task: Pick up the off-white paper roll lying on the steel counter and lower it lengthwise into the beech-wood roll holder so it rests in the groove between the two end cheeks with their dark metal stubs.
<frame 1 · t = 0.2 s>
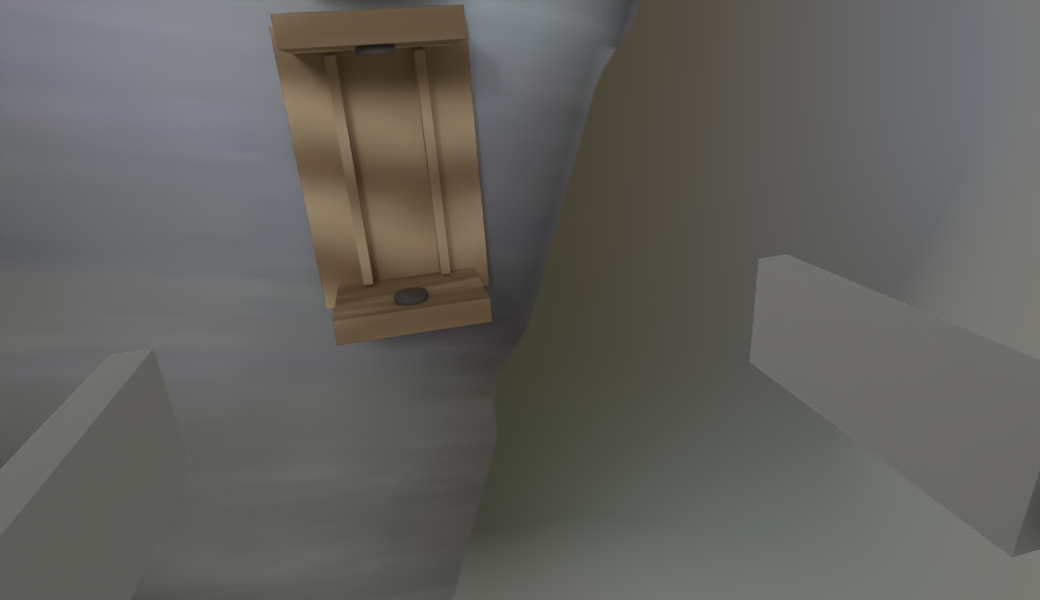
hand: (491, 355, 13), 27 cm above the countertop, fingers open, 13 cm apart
holder: (391, 169, 37), on the countertop
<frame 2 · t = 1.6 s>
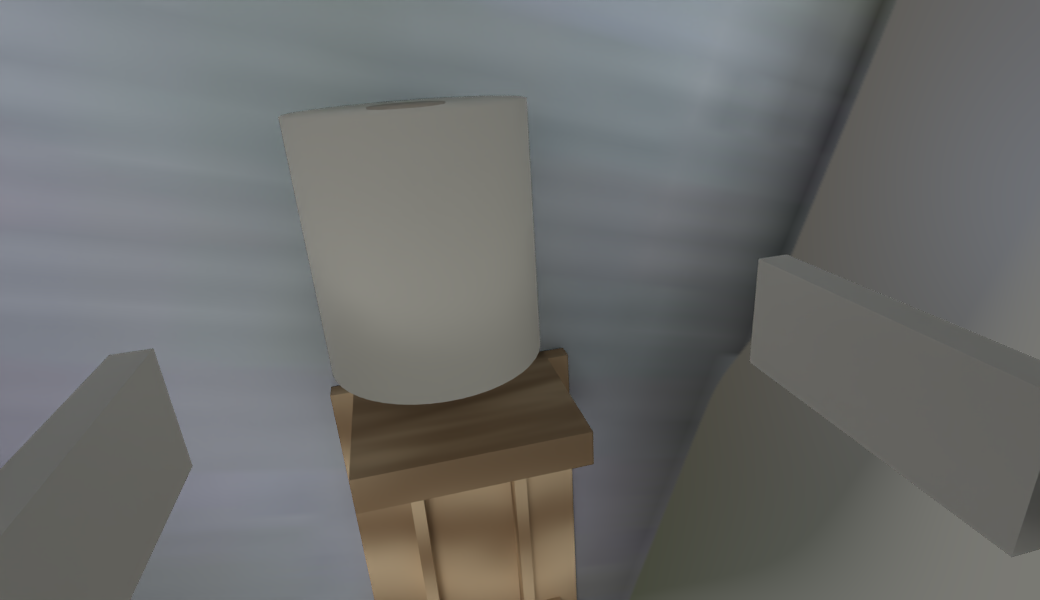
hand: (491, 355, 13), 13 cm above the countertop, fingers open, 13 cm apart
roll: (432, 210, 25), on the countertop, tilted 10°
holder: (468, 508, 31), on the countertop
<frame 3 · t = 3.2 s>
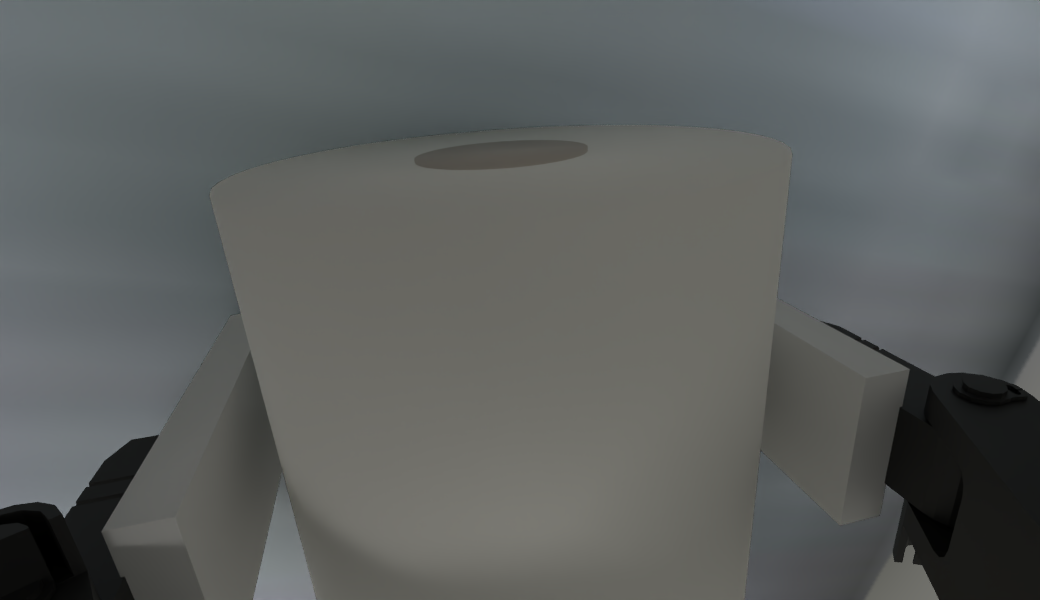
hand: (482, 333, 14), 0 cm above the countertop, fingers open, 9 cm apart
roll: (484, 323, 14), on the countertop
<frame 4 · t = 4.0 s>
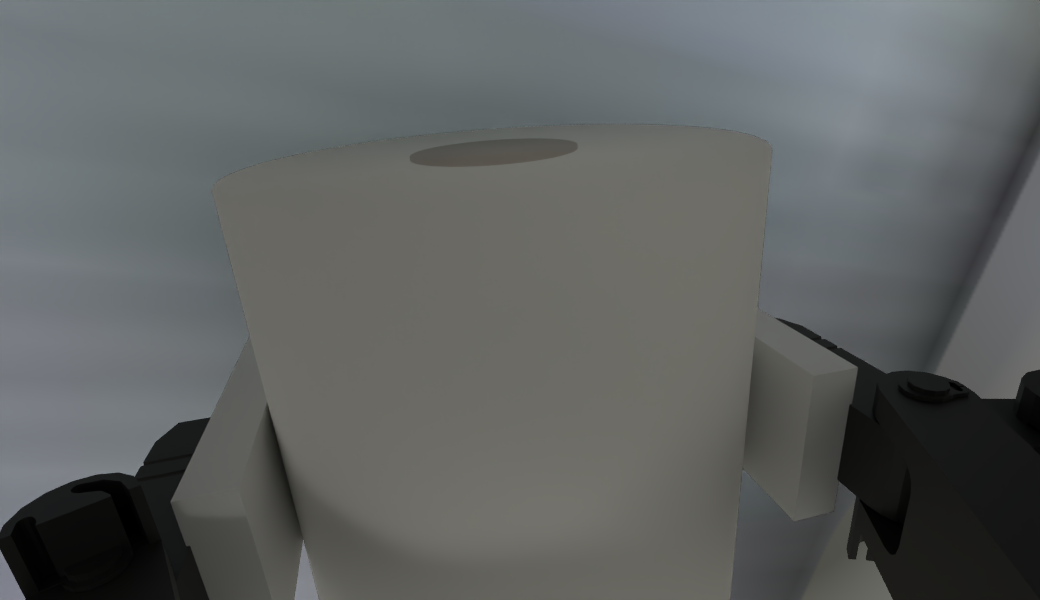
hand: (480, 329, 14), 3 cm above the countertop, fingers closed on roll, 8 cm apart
roll: (478, 319, 14), point 2 cm above the countertop, touching gripper
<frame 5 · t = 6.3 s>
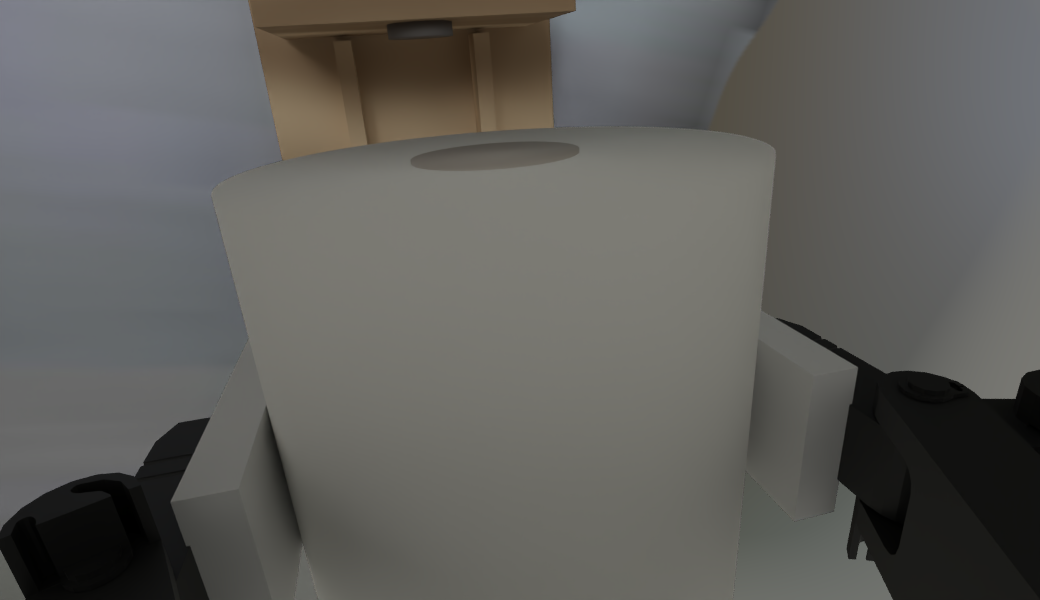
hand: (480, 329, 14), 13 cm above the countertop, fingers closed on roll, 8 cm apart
roll: (479, 322, 14), point 12 cm above the countertop, touching gripper
holder: (430, 209, 25), on the countertop
when the fingers open (3 cm above the countertop, at t = 8.5 s): roll drops 1 cm, resting on holder.
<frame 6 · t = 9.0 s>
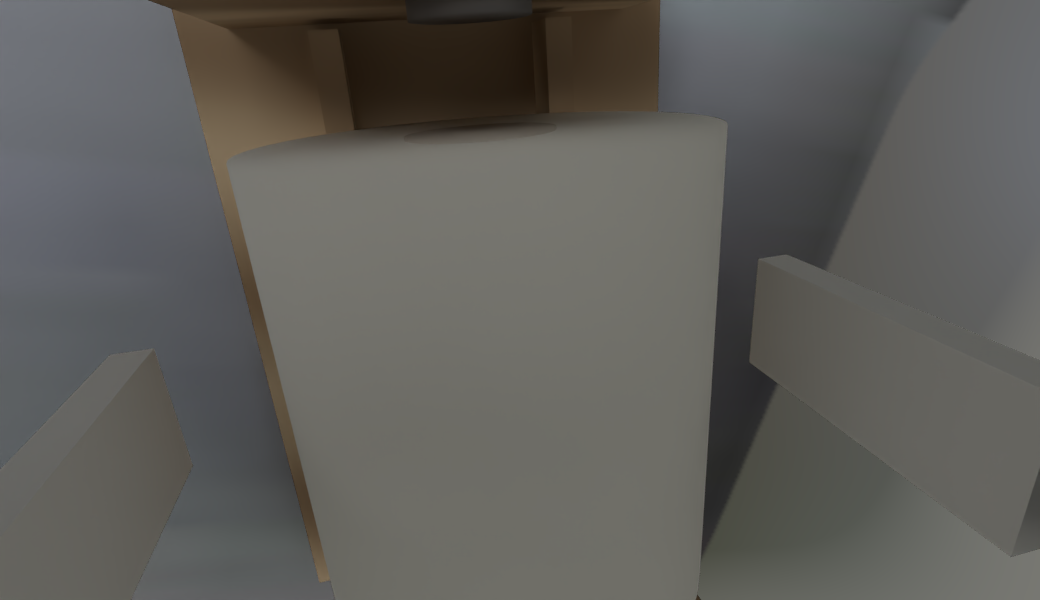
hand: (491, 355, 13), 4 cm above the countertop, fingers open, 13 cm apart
roll: (472, 297, 15), point 1 cm above the countertop, touching holder
holder: (464, 291, 17), on the countertop
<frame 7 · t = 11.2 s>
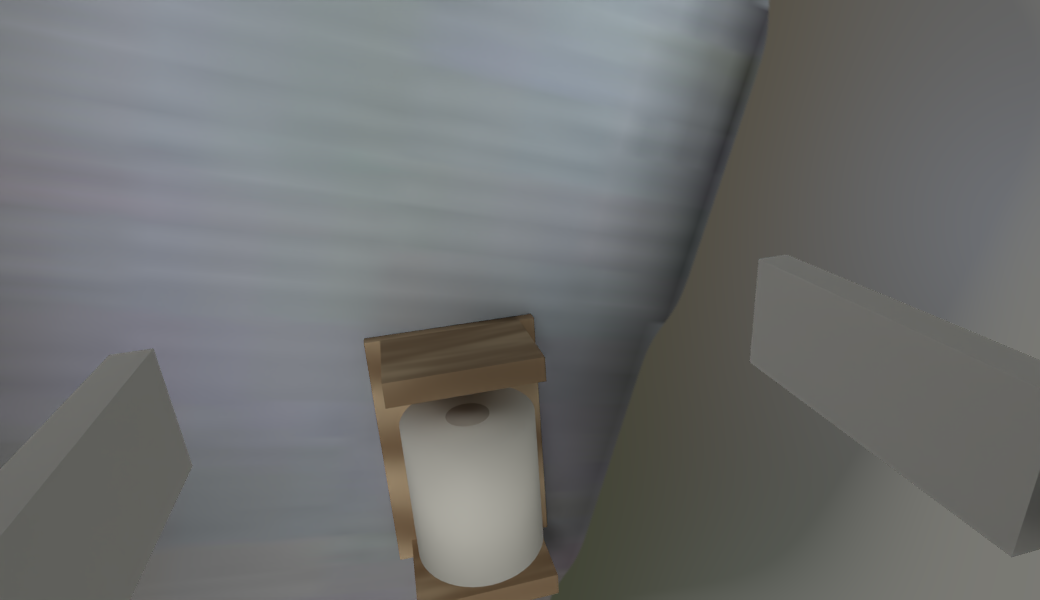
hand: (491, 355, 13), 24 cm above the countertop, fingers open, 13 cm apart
roll: (465, 444, 40), point 1 cm above the countertop, touching holder
holder: (462, 437, 41), on the countertop
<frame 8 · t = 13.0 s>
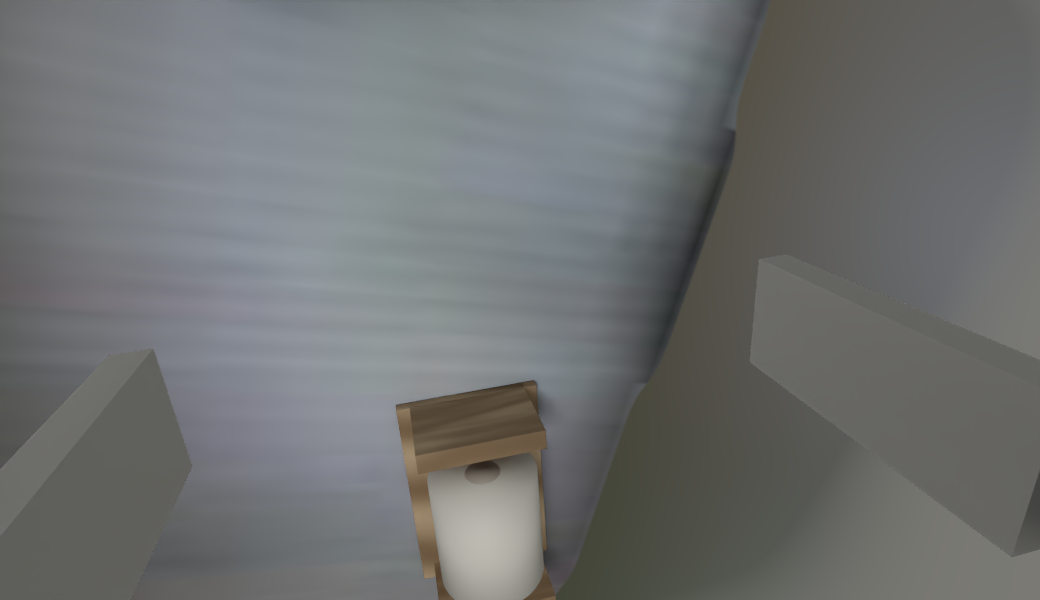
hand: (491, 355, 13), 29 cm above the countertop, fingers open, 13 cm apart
roll: (479, 487, 47), point 1 cm above the countertop, touching holder
holder: (476, 480, 49), on the countertop
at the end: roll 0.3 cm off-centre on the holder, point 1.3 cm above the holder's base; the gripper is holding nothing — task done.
